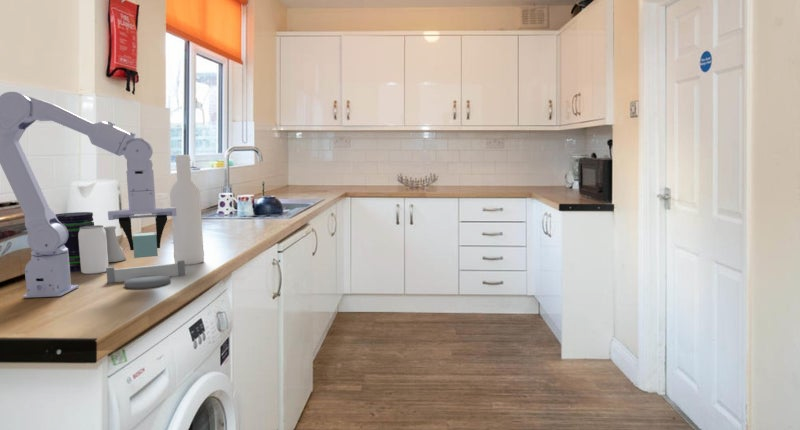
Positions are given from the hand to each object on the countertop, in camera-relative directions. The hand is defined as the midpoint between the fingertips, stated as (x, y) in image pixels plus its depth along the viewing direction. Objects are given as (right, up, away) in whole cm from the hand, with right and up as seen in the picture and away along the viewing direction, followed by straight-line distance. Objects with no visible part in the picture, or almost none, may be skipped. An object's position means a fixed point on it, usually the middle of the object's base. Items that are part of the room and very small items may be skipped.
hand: (145, 248), depth 141 cm
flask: (-24, -6, +34) cm, 42 cm away
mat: (0, -8, +1) cm, 8 cm away
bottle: (+1, -6, +28) cm, 29 cm away
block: (0, -2, 0) cm, 2 cm away
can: (-21, -7, +18) cm, 28 cm away
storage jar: (-28, -7, +23) cm, 37 cm away
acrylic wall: (-3, -8, +7) cm, 11 cm away
